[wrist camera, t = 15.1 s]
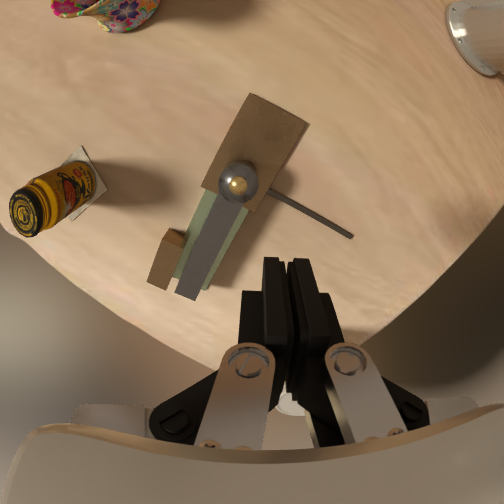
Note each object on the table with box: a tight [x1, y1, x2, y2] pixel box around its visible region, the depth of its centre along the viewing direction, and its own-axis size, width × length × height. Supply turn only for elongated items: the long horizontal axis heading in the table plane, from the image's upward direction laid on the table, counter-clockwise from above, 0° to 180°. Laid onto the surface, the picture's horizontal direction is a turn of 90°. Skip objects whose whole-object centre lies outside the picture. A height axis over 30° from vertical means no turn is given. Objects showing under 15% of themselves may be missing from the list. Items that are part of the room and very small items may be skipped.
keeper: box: [147, 189, 249, 290], centre depth 32 cm, size 8×14×3 cm, turn 152°
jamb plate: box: [201, 93, 353, 239], centre depth 30 cm, size 20×12×1 cm, turn 62°
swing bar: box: [174, 160, 258, 301], centre depth 31 cm, size 18×4×4 cm, turn 153°
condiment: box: [9, 145, 108, 237], centre depth 25 cm, size 7×8×12 cm
